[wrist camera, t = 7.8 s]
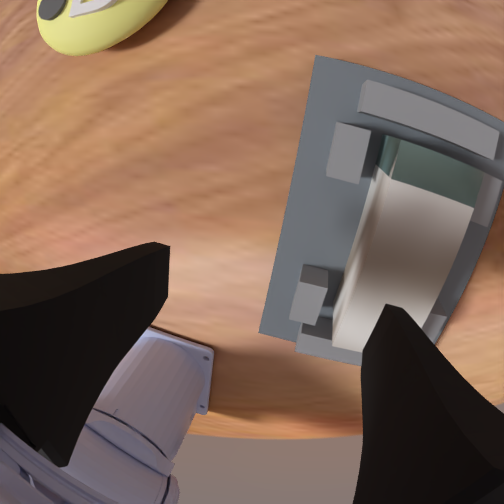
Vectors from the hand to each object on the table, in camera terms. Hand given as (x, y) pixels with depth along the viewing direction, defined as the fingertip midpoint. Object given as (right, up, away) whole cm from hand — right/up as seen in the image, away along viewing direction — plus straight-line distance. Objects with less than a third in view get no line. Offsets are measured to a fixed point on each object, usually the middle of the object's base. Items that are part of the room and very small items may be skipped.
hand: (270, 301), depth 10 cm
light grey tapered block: (+7, +2, +6) cm, 9 cm away
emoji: (-10, +20, +4) cm, 22 cm away
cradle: (+7, +3, +7) cm, 10 cm away
